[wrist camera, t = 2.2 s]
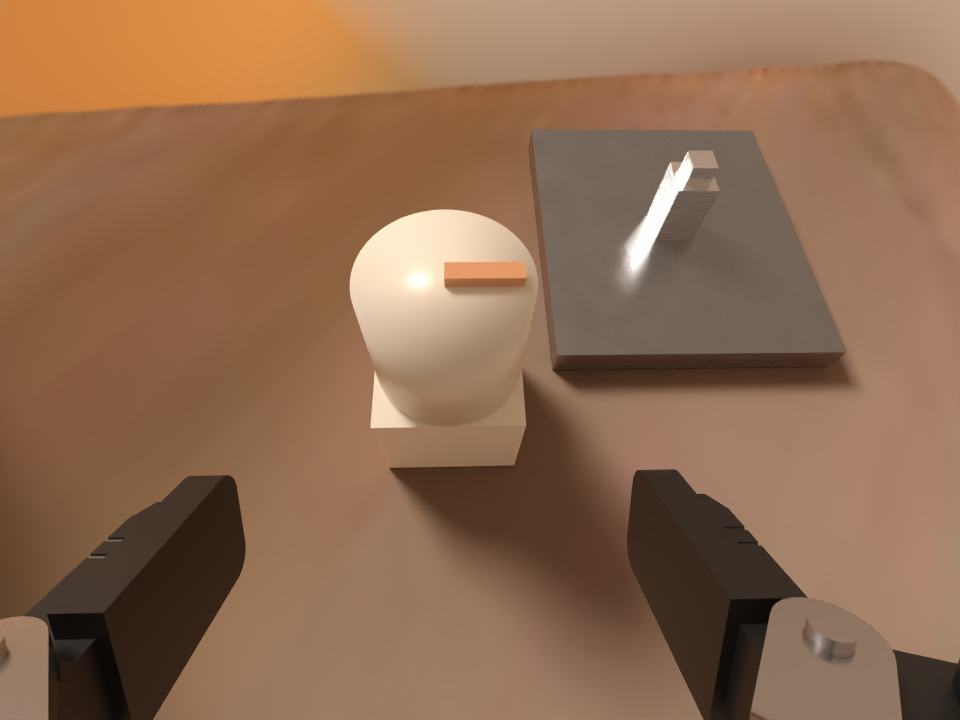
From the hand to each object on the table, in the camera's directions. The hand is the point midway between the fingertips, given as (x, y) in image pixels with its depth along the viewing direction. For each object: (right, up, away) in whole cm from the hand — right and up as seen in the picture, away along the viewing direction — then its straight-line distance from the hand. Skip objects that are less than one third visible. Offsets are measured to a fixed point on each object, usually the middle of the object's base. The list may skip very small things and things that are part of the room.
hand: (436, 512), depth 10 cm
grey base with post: (+11, +10, +19) cm, 24 cm away
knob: (0, +1, +14) cm, 14 cm away
